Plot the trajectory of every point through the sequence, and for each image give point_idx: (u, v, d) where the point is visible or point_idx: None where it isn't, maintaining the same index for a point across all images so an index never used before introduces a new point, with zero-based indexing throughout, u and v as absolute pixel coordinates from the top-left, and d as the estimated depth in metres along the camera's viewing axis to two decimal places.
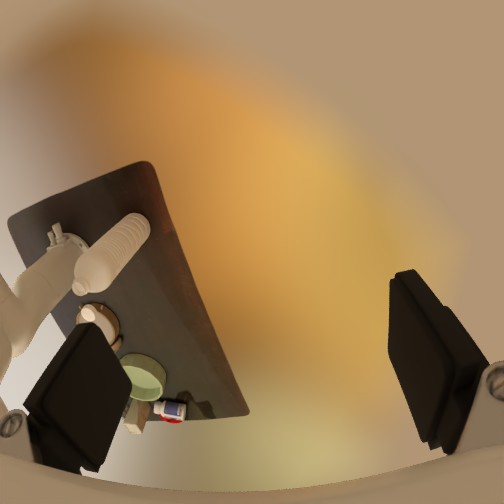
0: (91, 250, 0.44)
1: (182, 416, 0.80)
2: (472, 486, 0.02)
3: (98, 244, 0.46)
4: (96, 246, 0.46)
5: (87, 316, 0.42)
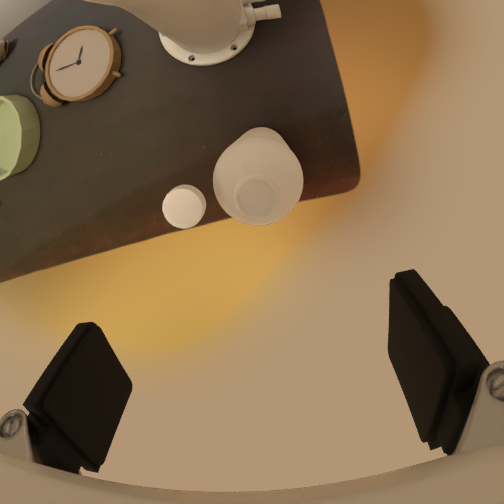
0: None
1: None
2: (472, 486, 0.02)
3: None
4: None
5: (175, 206, 0.18)
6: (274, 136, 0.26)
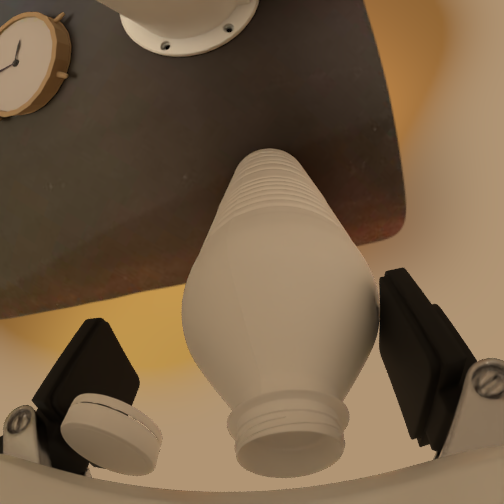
0: None
1: None
2: (472, 486, 0.02)
3: None
4: None
5: (89, 445, 0.06)
6: (306, 189, 0.14)
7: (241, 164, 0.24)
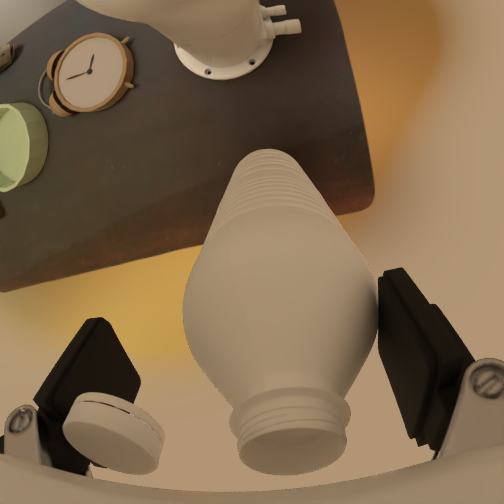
0: None
1: None
2: (472, 486, 0.02)
3: None
4: None
5: (91, 444, 0.06)
6: (305, 189, 0.14)
7: (240, 164, 0.24)
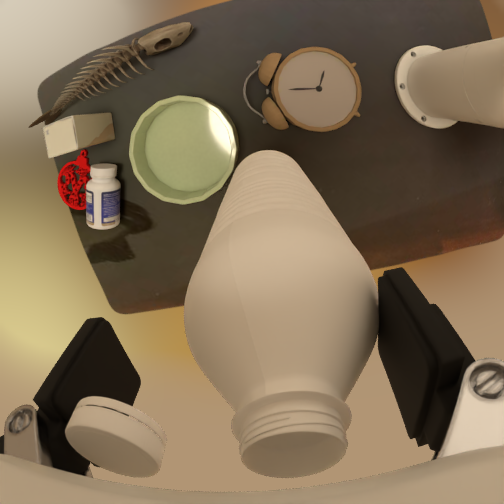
0: None
1: (102, 228, 0.42)
2: (472, 486, 0.02)
3: None
4: None
5: (94, 448, 0.06)
6: (305, 191, 0.14)
7: (240, 166, 0.24)
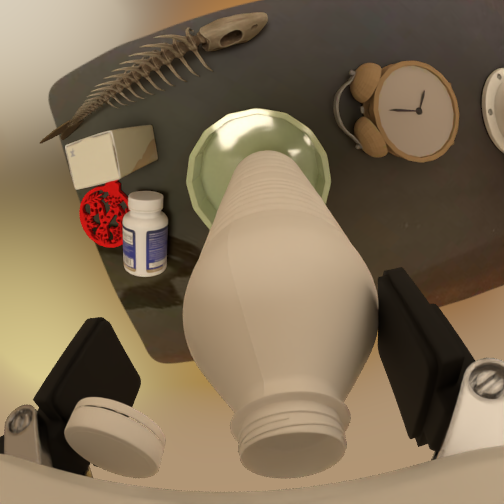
0: None
1: (147, 275, 0.35)
2: (472, 486, 0.02)
3: None
4: None
5: (93, 449, 0.06)
6: (304, 192, 0.14)
7: (239, 166, 0.24)
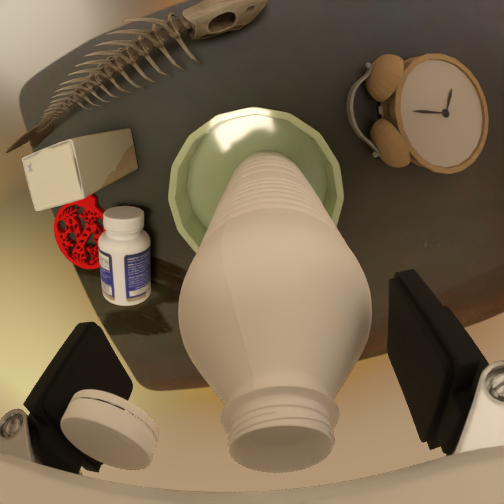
0: None
1: (127, 304, 0.30)
2: (472, 486, 0.02)
3: None
4: None
5: (88, 440, 0.06)
6: (301, 191, 0.14)
7: (239, 166, 0.24)
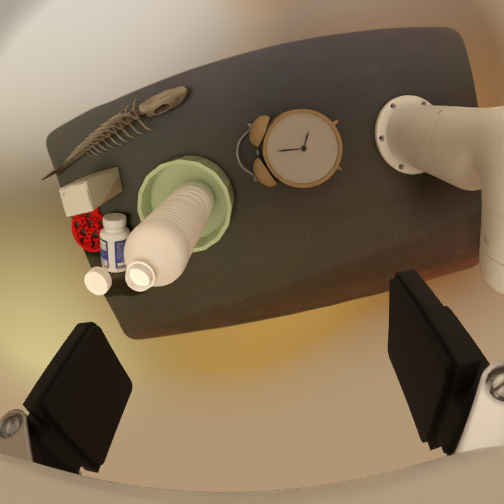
0: (188, 250, 0.31)
1: (116, 271, 0.49)
2: (472, 486, 0.02)
3: (193, 240, 0.33)
4: (191, 244, 0.33)
5: (91, 282, 0.26)
6: (178, 209, 0.34)
7: None
